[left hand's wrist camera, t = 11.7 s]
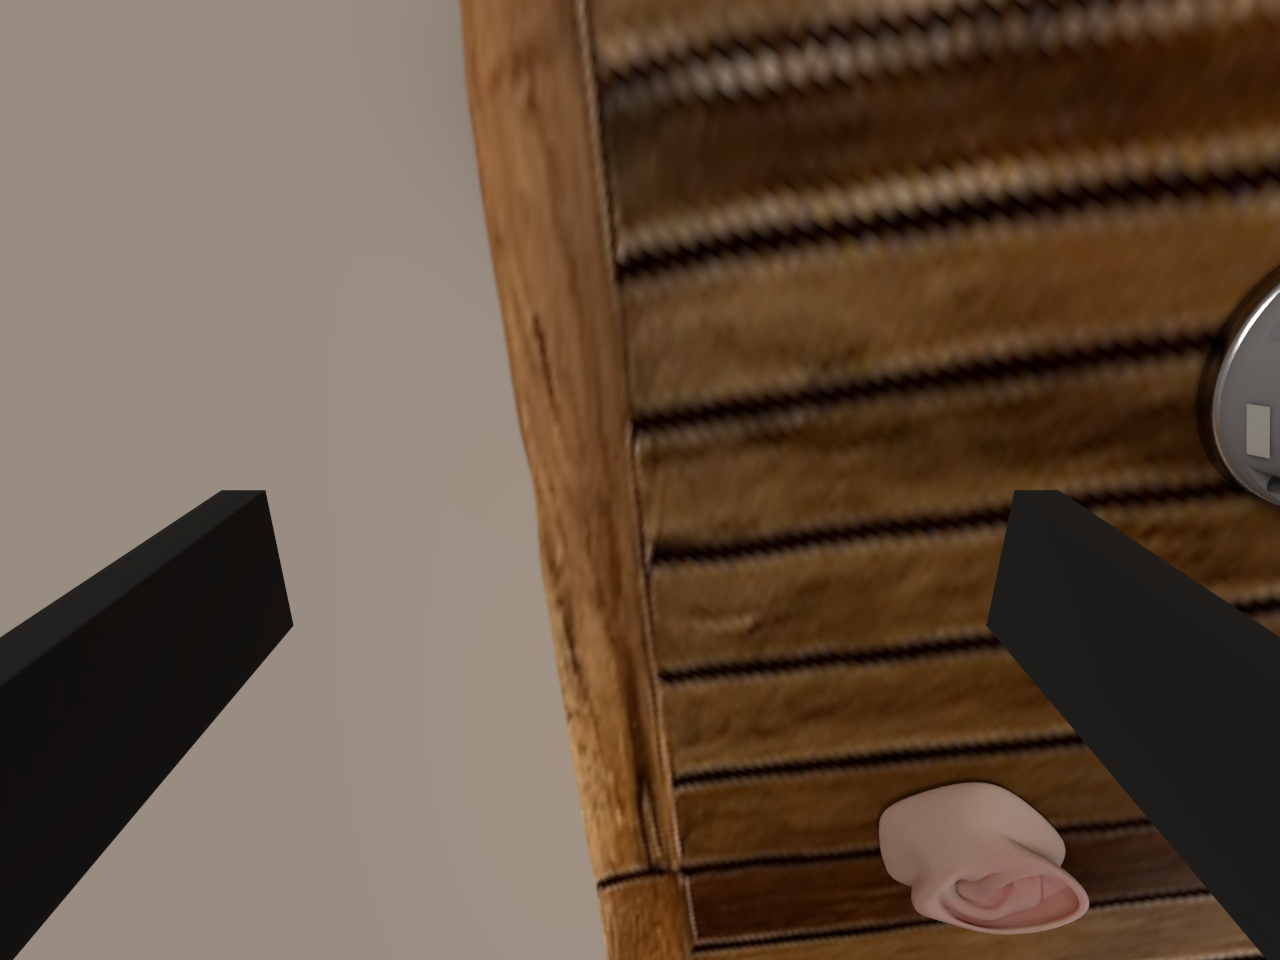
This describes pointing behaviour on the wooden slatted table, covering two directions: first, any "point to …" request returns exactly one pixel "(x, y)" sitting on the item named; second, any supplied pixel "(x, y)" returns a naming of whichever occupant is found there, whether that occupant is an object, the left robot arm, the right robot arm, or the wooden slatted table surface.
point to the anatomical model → (980, 860)
